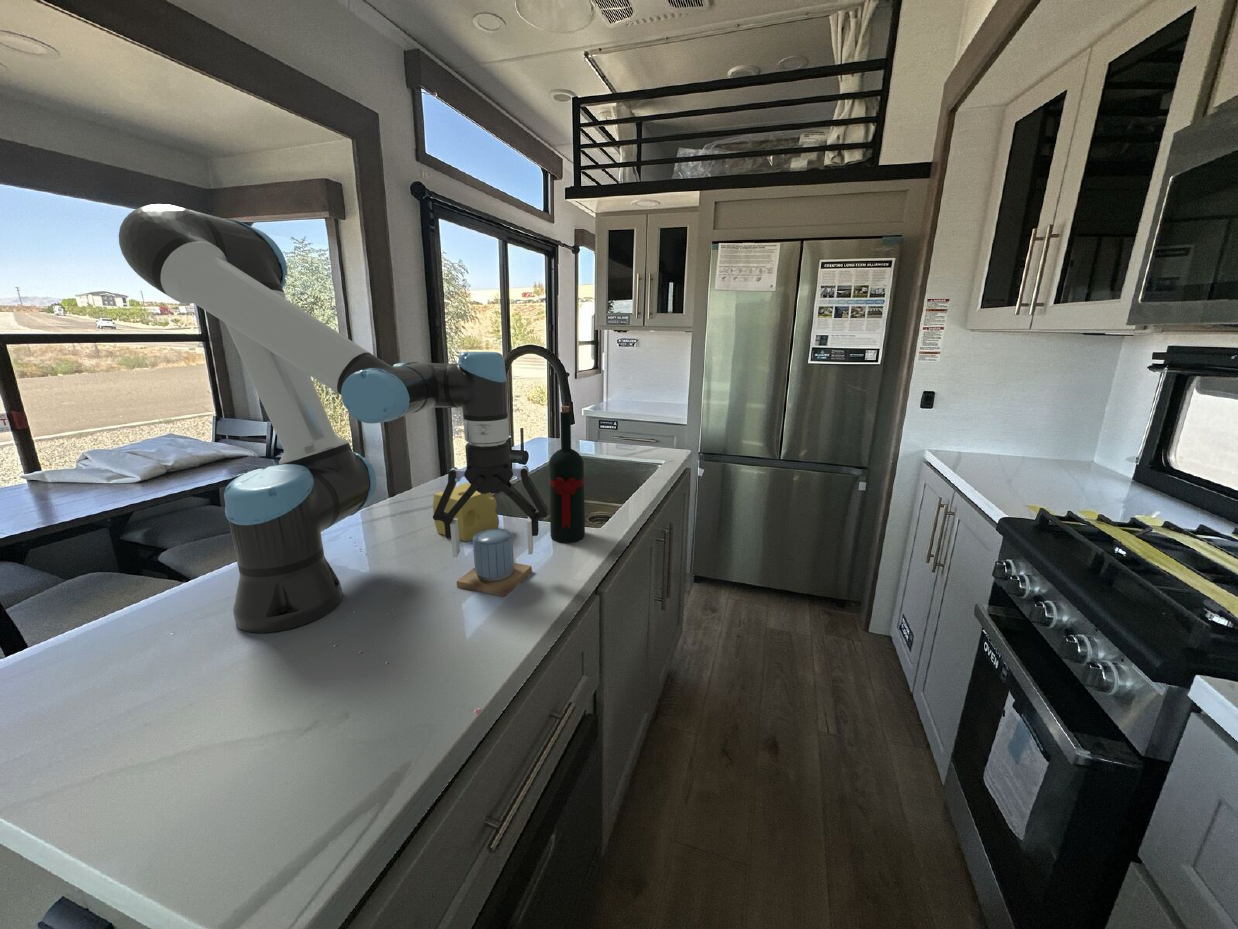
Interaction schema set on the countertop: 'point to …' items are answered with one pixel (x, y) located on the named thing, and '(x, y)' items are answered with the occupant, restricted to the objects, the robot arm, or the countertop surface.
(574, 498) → the wine bottle
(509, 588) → the wooden square stand
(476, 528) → the cheese
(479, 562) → the cap
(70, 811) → the countertop surface
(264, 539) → the robot arm
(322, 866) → the countertop surface
